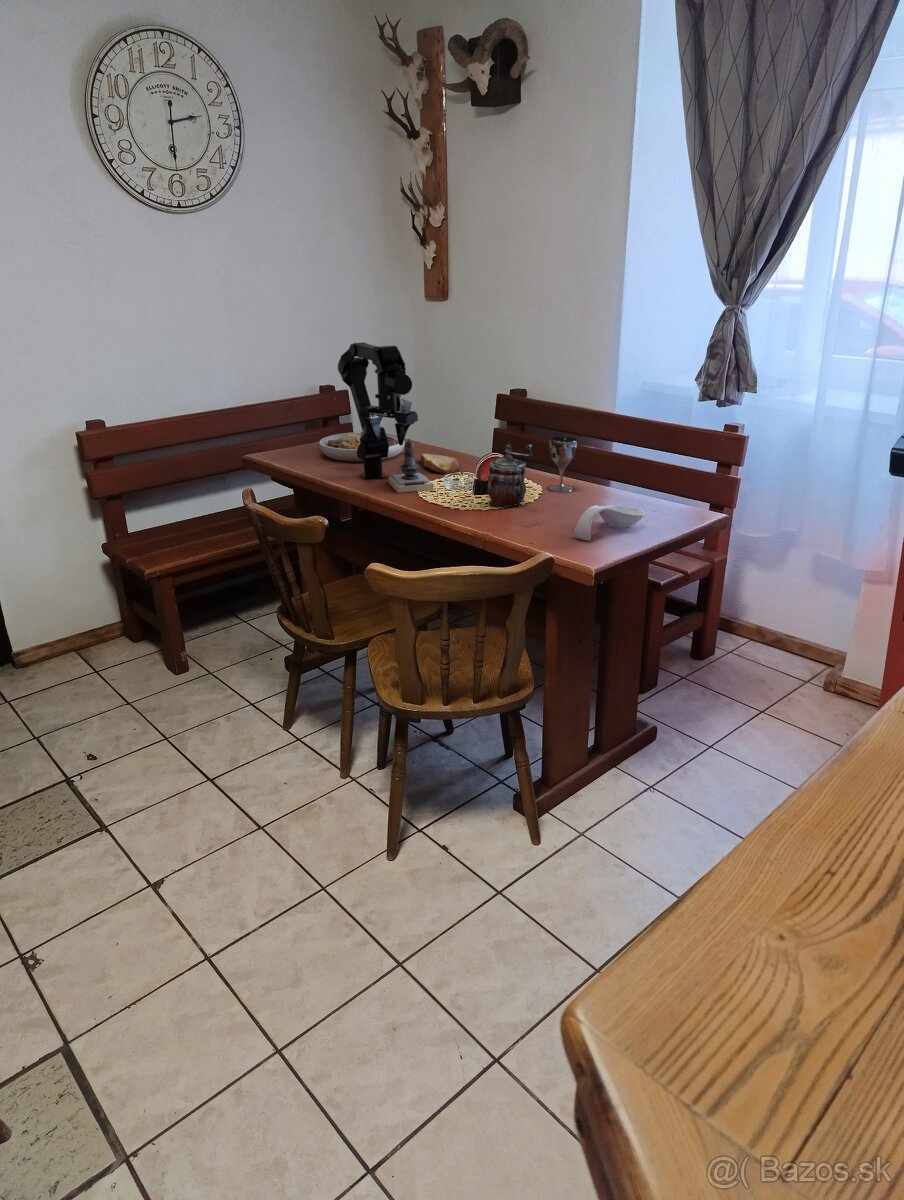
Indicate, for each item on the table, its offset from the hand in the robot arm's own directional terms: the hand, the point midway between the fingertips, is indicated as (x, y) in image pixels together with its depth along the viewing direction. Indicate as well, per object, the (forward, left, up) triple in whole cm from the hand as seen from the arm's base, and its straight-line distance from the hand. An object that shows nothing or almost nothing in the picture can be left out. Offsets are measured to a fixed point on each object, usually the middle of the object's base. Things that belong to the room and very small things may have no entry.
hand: (389, 443), depth 245 cm
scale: (+3, +5, -13) cm, 14 cm away
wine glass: (+20, +48, -13) cm, 54 cm away
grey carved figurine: (+3, +5, -11) cm, 12 cm away
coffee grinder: (+31, +28, -13) cm, 44 cm away
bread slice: (-19, +20, -13) cm, 31 cm away
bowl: (-45, 0, -13) cm, 47 cm away
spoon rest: (+61, +43, -13) cm, 75 cm away
